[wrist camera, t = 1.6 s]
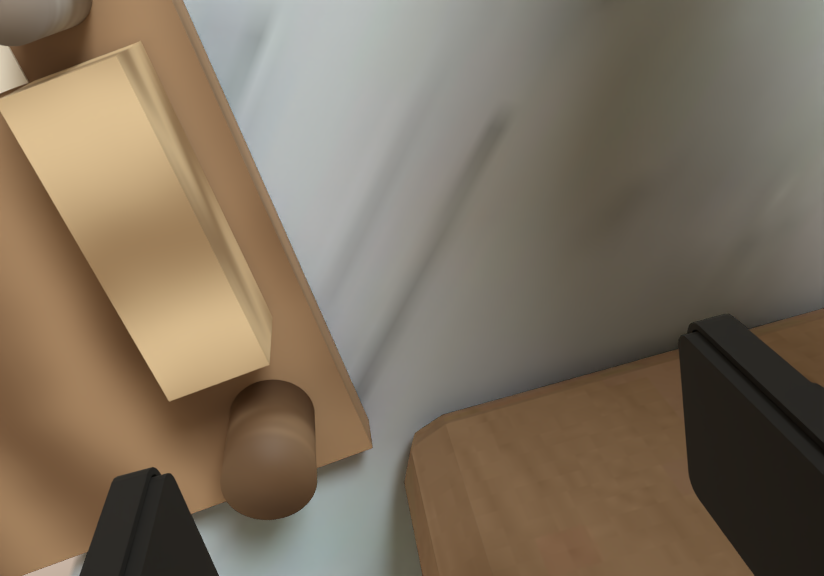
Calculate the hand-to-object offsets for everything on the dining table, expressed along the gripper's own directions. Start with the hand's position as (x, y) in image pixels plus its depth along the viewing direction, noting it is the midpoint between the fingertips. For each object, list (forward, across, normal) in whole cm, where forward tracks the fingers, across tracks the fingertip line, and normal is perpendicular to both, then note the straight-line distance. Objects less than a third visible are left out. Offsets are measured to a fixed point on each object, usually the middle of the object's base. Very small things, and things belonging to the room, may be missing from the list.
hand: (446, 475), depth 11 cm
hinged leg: (+16, +7, -1) cm, 17 cm away
